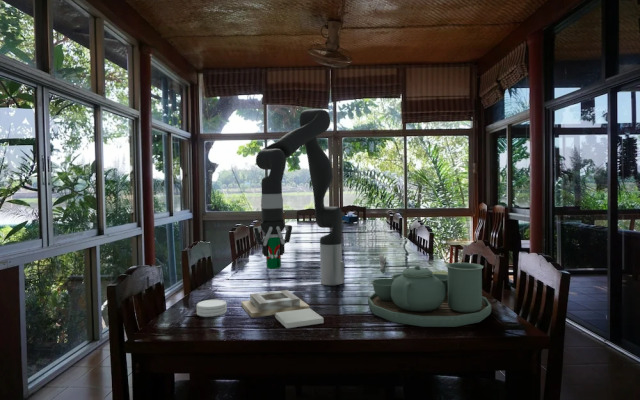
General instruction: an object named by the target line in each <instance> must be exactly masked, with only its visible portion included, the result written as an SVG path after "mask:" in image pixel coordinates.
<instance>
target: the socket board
mask: <svg viewBox="0 0 640 400" xmlns="http://www.w3.org/2000/svg"><path fill="white" fill-rule="evenodd" d="M249 299H250V300H244V301H243V300H241V301H240V302H241V307H242V308H243V309H244V310H245V312H246V313H247V314H248V315H249V316H250V317H251V318H252V319H253V318H260V317H267V316H275V313H278V312H285V311H293V310H301V309H308V308H310V305H309V304H308V303H306V302H305V301H303V300H302V299H301V298H300V297H298V296H297V295H296V294H294V293H293V292H291V291H289V290H288V289H284V290H275V291H266V292H258V293H249Z"/></svg>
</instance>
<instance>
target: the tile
mask: <svg viewBox="0 0 640 400" xmlns="http://www.w3.org/2000/svg"><path fill="white" fill-rule="evenodd" d="M274 317H275V319H276V320H277V321H278V322H279V323H280V324H281V325H282V326H284V327H285V328H286V329H291V328H297V327H305V326H311V325H312V326H313V325H319V324H324V320H325V319H324V317H323V316H321V315H320V314H318V313H317V312H315V311H314V310H313V309H312V308H310V307H309V308H308V309H301V310H293V311H285V312H278V313H275V315H274Z"/></svg>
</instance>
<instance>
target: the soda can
mask: <svg viewBox="0 0 640 400" xmlns="http://www.w3.org/2000/svg"><path fill="white" fill-rule="evenodd" d="M266 246H267V257H265V258H266V259H265V261H266V266H265V267H266V268H267V269H268V270H279V269H281V267H282V255H281V246H280V237H279V235H278V234H270V237H269V240H268V242H267V245H266Z"/></svg>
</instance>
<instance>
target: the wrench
mask: <svg viewBox="0 0 640 400" xmlns="http://www.w3.org/2000/svg"><path fill="white" fill-rule="evenodd" d="M378 259H379V271H384V268H385V267H384V266H385V264H386V263H387V257H386V256H384V254H379V258H378Z"/></svg>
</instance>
